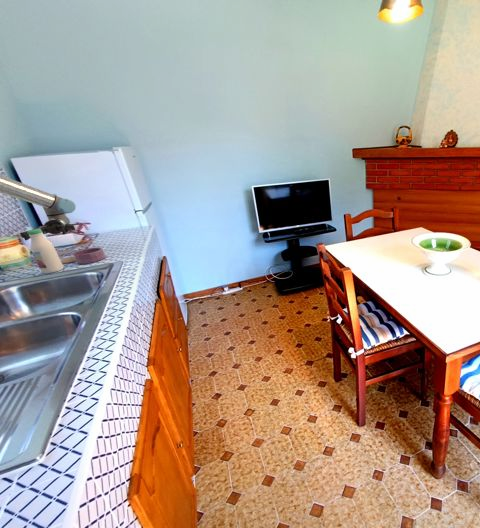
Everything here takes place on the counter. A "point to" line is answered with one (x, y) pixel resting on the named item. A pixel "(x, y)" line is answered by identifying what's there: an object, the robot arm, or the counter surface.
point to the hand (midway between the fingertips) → (44, 234)
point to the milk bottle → (44, 252)
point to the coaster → (68, 260)
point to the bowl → (89, 255)
